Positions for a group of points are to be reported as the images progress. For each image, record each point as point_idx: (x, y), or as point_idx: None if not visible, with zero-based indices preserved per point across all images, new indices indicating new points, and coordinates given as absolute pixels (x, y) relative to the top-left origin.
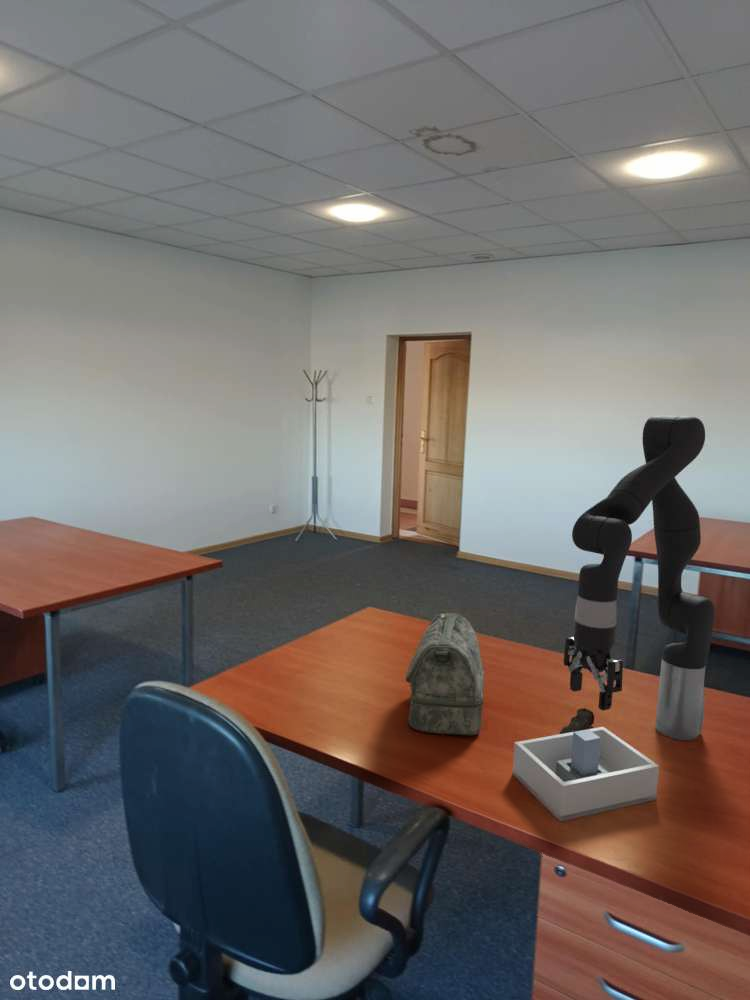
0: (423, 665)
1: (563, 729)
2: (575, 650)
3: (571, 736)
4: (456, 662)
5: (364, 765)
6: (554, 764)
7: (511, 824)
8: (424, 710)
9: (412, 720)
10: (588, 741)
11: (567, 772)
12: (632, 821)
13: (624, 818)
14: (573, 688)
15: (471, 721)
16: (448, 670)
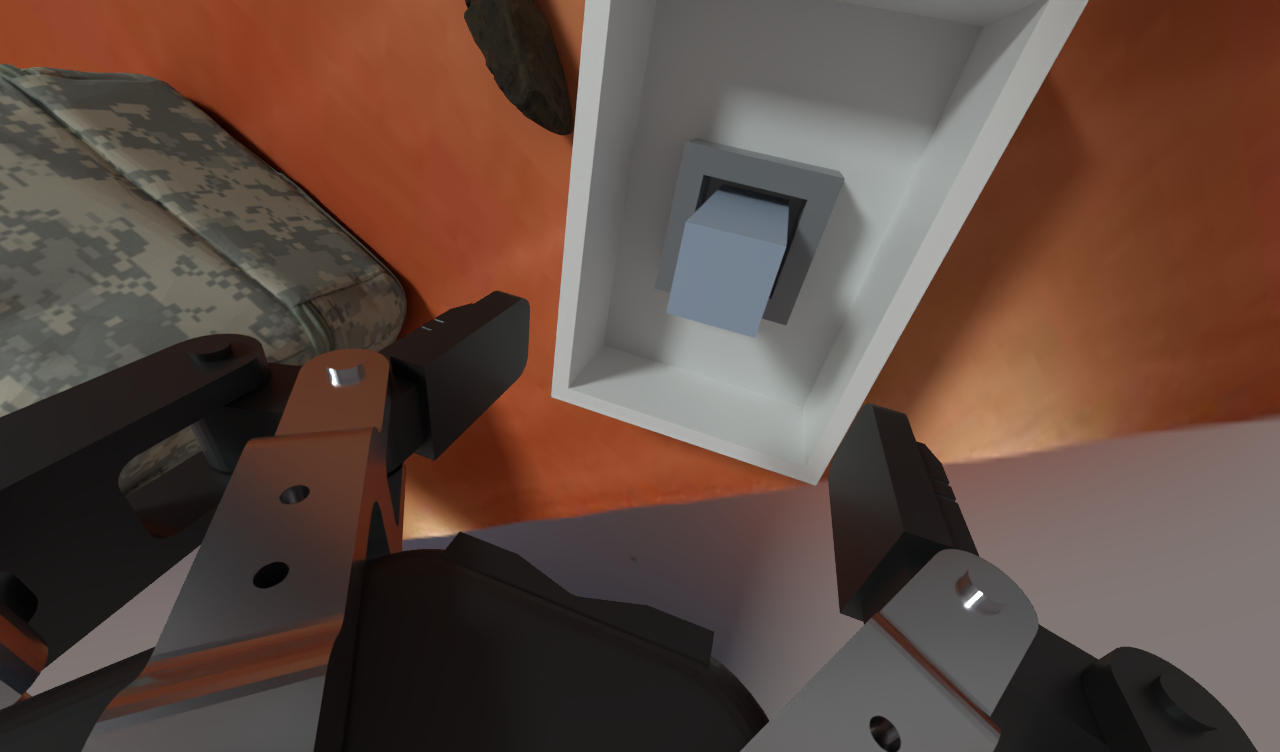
0: None
1: (484, 50)
2: (24, 545)
3: (594, 167)
4: (147, 466)
5: (462, 530)
6: (621, 225)
7: (742, 493)
8: None
9: None
10: (761, 318)
11: None
12: (985, 244)
13: (953, 254)
14: (514, 374)
15: (374, 327)
16: (187, 455)
